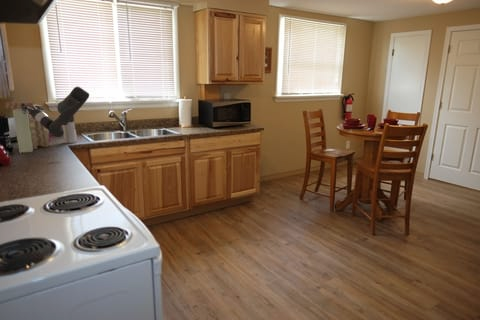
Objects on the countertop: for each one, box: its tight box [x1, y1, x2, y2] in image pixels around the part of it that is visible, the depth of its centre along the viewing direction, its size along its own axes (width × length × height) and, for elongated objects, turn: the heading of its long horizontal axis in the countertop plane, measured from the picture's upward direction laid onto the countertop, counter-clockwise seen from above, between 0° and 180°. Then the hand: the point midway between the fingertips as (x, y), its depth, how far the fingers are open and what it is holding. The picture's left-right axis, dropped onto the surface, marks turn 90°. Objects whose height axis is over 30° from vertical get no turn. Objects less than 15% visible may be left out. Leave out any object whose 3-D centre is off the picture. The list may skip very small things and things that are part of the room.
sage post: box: [12, 109, 34, 154], centre depth 233 cm, size 8×8×30 cm
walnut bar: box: [4, 101, 34, 110], centre depth 229 cm, size 25×4×4 cm, turn 65°
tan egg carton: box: [14, 104, 50, 150], centre depth 250 cm, size 16×12×32 cm
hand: (25, 104), depth 226 cm, fingers closed on walnut bar, 4 cm apart
